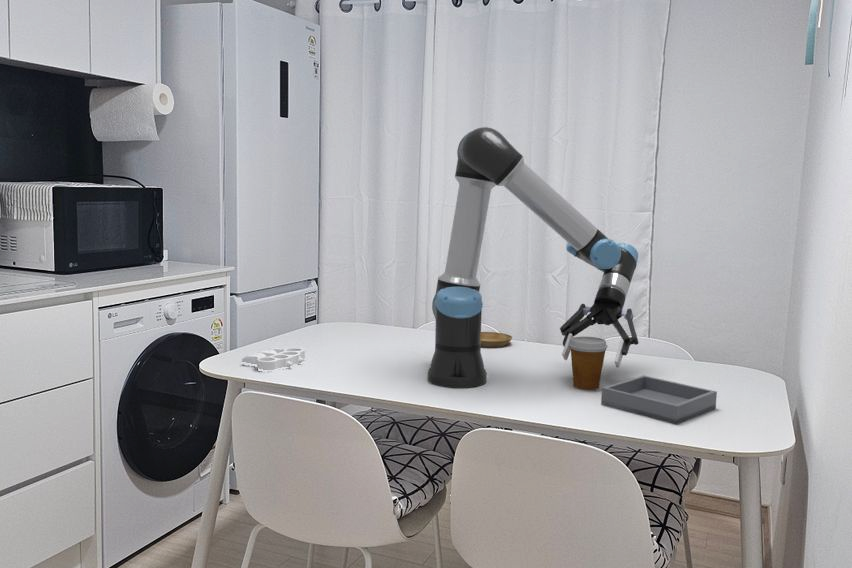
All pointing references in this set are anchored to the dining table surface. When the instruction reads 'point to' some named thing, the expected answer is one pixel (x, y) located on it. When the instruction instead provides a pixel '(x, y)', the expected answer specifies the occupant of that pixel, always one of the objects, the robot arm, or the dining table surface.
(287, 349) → the white holed plate
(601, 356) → the disposable coffee cup
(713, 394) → the grey tray
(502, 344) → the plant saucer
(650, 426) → the dining table surface
